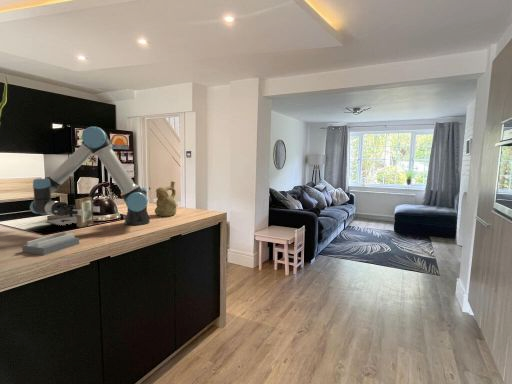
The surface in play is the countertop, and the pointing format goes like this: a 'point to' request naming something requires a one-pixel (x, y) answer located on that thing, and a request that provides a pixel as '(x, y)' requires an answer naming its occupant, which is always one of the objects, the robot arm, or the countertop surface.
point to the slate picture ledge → (50, 244)
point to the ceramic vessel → (166, 201)
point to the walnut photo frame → (88, 211)
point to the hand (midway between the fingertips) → (91, 211)
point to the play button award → (66, 221)
